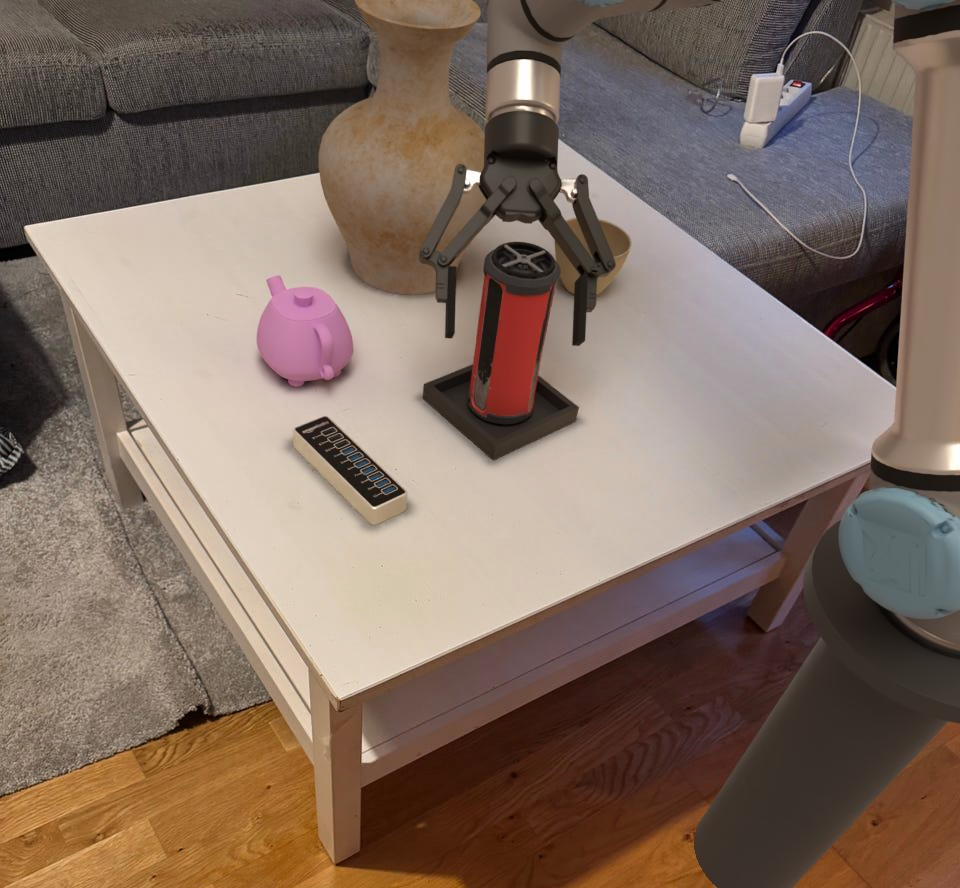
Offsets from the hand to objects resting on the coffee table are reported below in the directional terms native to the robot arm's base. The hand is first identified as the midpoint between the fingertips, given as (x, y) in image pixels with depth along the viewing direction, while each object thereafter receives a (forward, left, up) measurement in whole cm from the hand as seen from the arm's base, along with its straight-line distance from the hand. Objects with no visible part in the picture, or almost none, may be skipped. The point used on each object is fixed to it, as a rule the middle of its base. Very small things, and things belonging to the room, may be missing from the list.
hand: (514, 339), depth 95 cm
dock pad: (+2, -1, -11) cm, 11 cm away
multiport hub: (+2, +20, -11) cm, 22 cm away
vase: (+32, -10, -11) cm, 35 cm away
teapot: (+21, +13, -11) cm, 27 cm away
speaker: (+2, -1, -10) cm, 10 cm away
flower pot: (+16, -28, -11) cm, 34 cm away
